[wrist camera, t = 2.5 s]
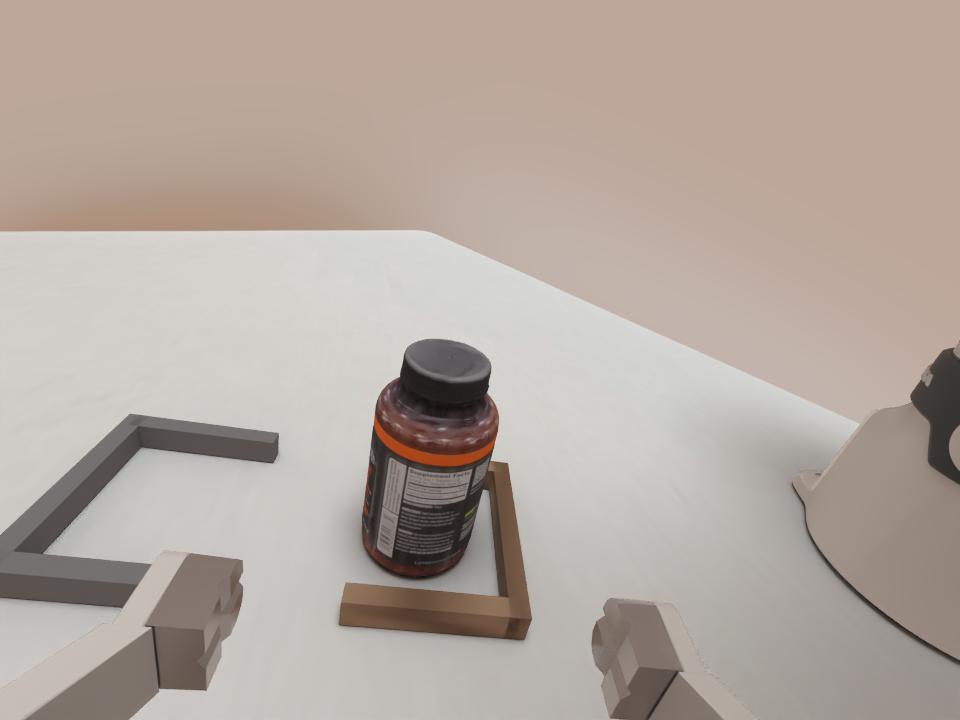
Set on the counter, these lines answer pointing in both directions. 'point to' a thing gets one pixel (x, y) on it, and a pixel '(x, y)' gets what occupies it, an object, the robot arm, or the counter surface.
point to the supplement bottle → (429, 458)
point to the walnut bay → (449, 608)
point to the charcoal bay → (18, 550)
